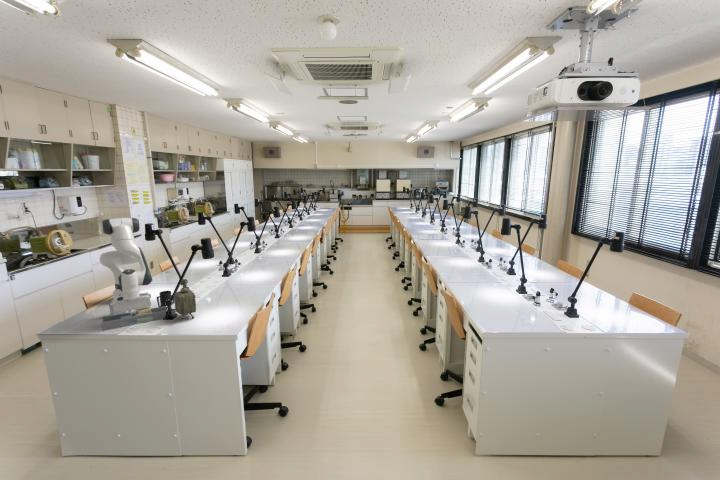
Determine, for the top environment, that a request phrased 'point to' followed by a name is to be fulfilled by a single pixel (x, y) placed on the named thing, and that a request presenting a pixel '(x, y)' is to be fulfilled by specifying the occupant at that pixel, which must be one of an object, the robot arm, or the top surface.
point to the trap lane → (132, 318)
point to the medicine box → (113, 311)
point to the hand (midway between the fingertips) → (133, 315)
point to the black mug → (163, 297)
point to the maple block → (144, 310)
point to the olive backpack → (185, 301)
